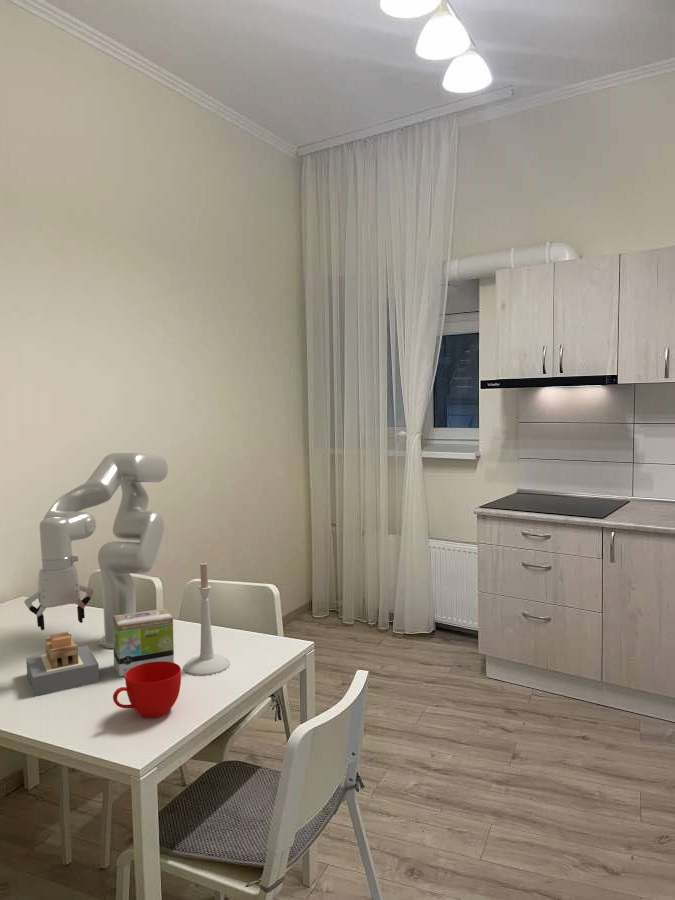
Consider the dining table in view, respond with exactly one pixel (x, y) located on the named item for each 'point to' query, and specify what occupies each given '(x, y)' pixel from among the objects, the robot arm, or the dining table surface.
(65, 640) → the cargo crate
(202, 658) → the candlestick
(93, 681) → the dock
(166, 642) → the tea box
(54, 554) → the robot arm
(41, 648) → the dining table surface
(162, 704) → the ceramic cup
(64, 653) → the pallet
